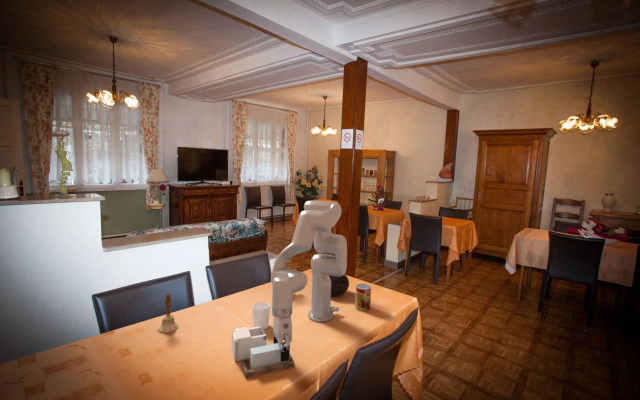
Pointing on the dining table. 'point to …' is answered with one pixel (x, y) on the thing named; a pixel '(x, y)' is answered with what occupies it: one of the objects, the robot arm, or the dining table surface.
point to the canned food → (363, 297)
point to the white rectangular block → (266, 356)
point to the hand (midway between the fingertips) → (281, 353)
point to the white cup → (261, 314)
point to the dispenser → (247, 341)
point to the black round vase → (338, 284)
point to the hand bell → (168, 318)
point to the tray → (249, 372)
